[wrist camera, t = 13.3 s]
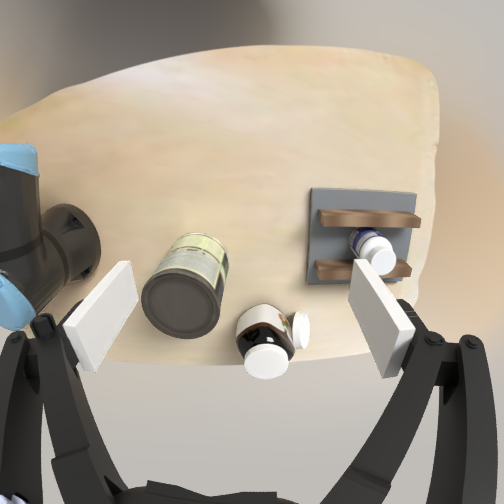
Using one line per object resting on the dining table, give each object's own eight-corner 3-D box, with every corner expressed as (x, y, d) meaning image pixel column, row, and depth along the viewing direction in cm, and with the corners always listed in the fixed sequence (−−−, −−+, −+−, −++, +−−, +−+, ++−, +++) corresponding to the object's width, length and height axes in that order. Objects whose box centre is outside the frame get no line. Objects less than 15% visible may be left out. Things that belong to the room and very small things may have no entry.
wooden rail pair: (314, 268, 46) (319, 280, 43) (318, 208, 42) (324, 216, 39) (400, 266, 46) (410, 276, 42) (409, 211, 42) (421, 218, 38)
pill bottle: (382, 244, 44) (405, 267, 36) (356, 260, 46) (374, 286, 37) (370, 217, 43) (393, 237, 34) (343, 234, 44) (360, 257, 36)
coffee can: (240, 274, 48) (234, 326, 36) (189, 295, 50) (169, 347, 37) (211, 221, 45) (192, 258, 32) (159, 246, 47) (126, 288, 34)
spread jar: (231, 314, 52) (225, 358, 41) (281, 280, 49) (287, 321, 38) (271, 351, 55) (273, 395, 45) (319, 322, 52) (330, 366, 42)
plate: (306, 281, 49) (307, 284, 48) (311, 187, 42) (312, 189, 41) (399, 277, 48) (402, 280, 47) (413, 192, 42) (416, 194, 41)
